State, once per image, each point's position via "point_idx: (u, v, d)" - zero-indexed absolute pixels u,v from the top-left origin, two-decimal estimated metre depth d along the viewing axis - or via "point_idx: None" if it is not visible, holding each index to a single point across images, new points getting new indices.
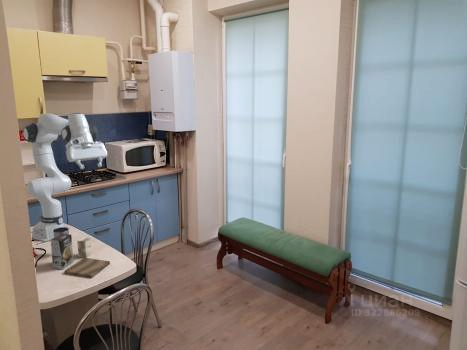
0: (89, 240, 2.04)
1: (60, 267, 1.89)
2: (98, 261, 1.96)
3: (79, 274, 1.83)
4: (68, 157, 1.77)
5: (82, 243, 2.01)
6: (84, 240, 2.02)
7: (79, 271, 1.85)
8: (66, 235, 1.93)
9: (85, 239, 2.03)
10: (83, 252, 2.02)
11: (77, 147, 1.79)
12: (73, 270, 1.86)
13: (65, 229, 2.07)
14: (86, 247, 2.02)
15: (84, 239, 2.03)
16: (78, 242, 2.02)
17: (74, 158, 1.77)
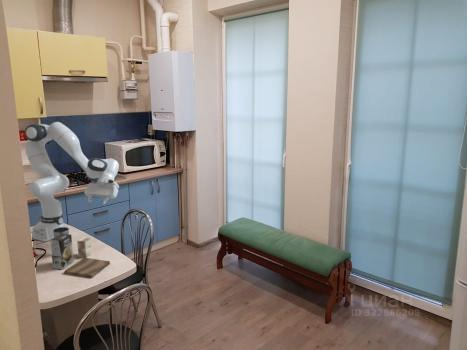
0: (89, 240, 2.04)
1: (60, 267, 1.89)
2: (98, 261, 1.96)
3: (79, 274, 1.83)
4: (115, 194, 2.13)
5: (82, 243, 2.01)
6: (84, 240, 2.02)
7: (79, 271, 1.85)
8: (66, 235, 1.93)
9: (85, 239, 2.03)
10: (83, 252, 2.02)
11: None
12: (73, 270, 1.86)
13: (65, 229, 2.07)
14: (86, 247, 2.02)
15: (84, 239, 2.03)
16: (78, 242, 2.02)
17: None
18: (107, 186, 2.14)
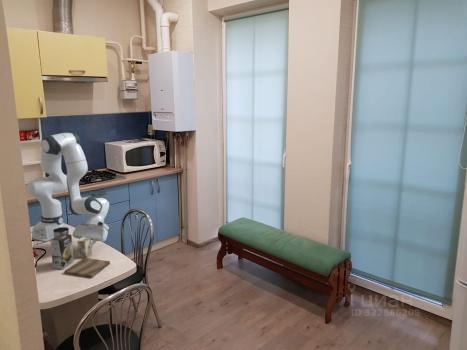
0: (89, 240, 2.04)
1: (60, 267, 1.89)
2: (98, 261, 1.96)
3: (79, 274, 1.83)
4: (104, 237, 2.06)
5: (82, 243, 2.01)
6: (84, 240, 2.02)
7: (79, 271, 1.85)
8: (66, 235, 1.93)
9: (85, 239, 2.03)
10: (83, 252, 2.02)
11: None
12: (73, 270, 1.86)
13: (65, 229, 2.07)
14: (86, 247, 2.02)
15: (84, 239, 2.03)
16: (78, 242, 2.02)
17: None
18: (96, 228, 2.07)
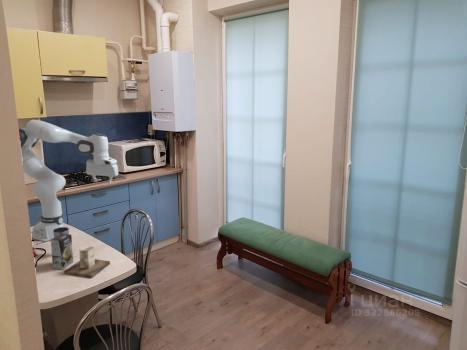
0: (92, 249, 1.89)
1: (60, 267, 1.89)
2: (98, 261, 1.96)
3: (79, 274, 1.83)
4: (116, 173, 2.17)
5: (84, 253, 1.86)
6: (87, 249, 1.87)
7: (79, 271, 1.85)
8: (66, 235, 1.93)
9: (88, 248, 1.88)
10: (86, 263, 1.87)
11: None
12: (73, 270, 1.86)
13: (65, 229, 2.07)
14: (88, 257, 1.87)
15: (86, 248, 1.88)
16: (80, 251, 1.86)
17: None
18: (106, 166, 2.15)
